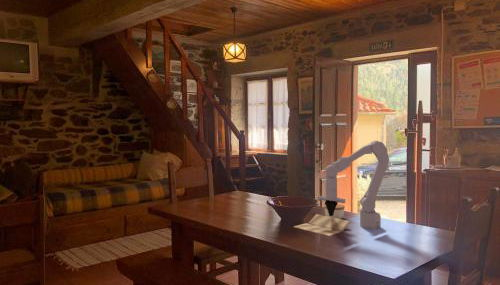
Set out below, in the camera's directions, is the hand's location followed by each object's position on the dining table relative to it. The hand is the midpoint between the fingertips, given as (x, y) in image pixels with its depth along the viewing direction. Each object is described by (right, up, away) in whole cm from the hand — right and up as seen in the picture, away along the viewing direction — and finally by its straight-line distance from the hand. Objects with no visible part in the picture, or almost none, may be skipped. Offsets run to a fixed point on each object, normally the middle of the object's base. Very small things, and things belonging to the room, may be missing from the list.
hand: (331, 215), depth 199 cm
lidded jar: (+5, -5, +16) cm, 17 cm away
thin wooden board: (-9, -6, -8) cm, 13 cm away
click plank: (-2, -4, -1) cm, 4 cm away
